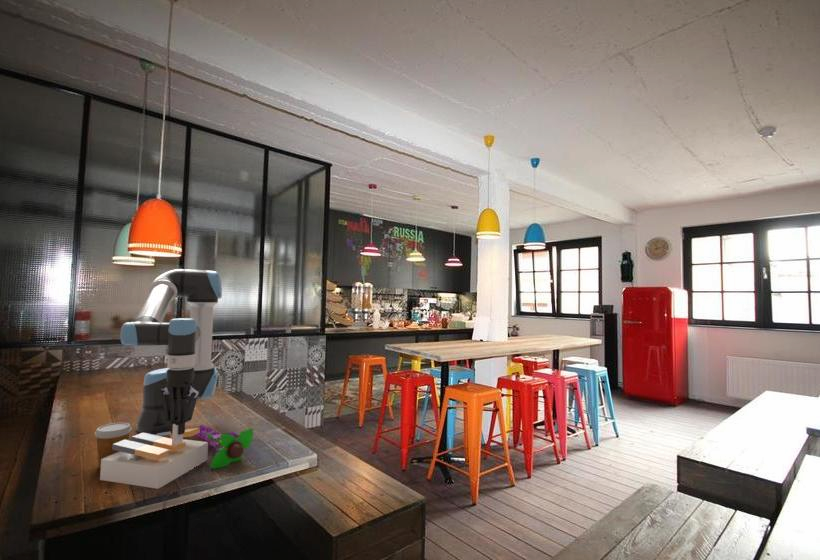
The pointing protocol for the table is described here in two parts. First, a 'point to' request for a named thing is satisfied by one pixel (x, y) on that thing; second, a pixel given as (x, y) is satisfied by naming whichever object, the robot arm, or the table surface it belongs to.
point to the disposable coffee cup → (110, 438)
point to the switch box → (153, 466)
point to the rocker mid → (157, 441)
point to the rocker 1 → (140, 449)
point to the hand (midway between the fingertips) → (177, 444)
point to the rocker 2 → (186, 434)
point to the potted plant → (227, 445)
